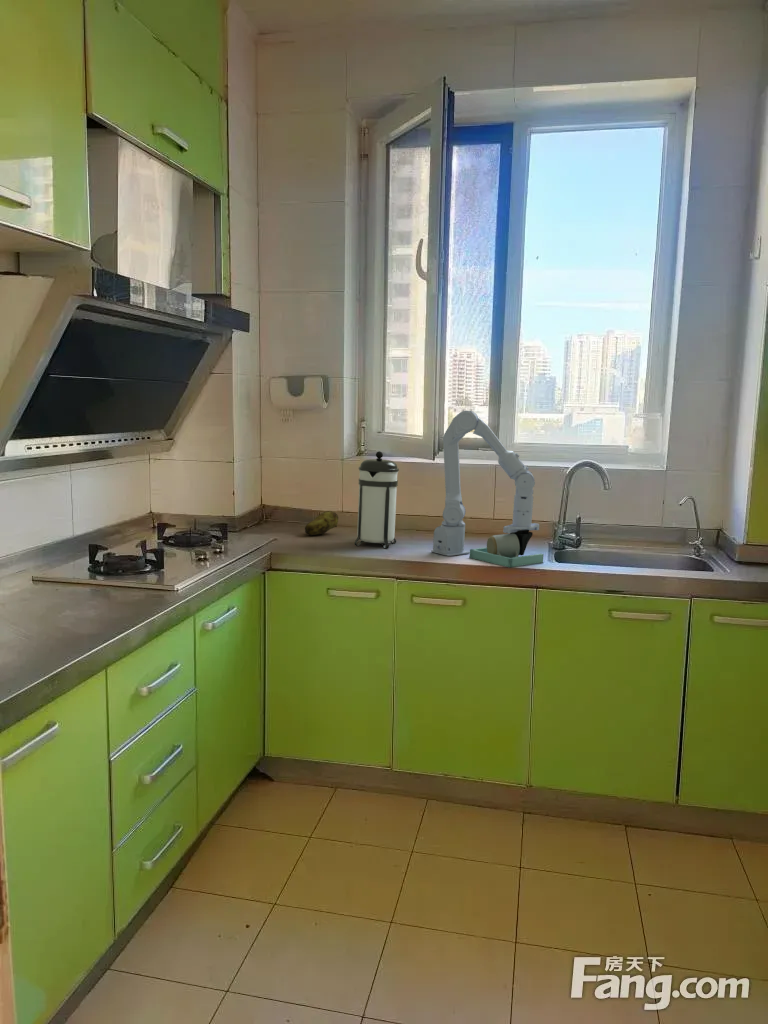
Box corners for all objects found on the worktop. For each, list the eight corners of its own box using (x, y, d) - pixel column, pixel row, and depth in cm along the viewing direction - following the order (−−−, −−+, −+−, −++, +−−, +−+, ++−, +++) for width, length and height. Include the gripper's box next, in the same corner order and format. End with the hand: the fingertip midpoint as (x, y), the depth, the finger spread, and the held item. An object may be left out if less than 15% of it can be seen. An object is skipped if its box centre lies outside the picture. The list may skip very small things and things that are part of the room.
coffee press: (409, 547, 245) (414, 453, 241) (364, 549, 238) (368, 452, 234) (385, 538, 260) (389, 449, 256) (342, 540, 253) (345, 448, 249)
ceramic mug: (484, 556, 235) (486, 531, 234) (509, 555, 237) (510, 531, 236) (498, 564, 225) (500, 538, 224) (524, 563, 227) (526, 538, 226)
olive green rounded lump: (298, 533, 263) (299, 510, 262) (333, 532, 269) (333, 509, 268) (307, 537, 255) (308, 513, 254) (343, 536, 261) (343, 512, 260)
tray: (509, 567, 221) (510, 558, 221) (469, 557, 233) (469, 549, 233) (542, 562, 231) (543, 554, 230) (502, 553, 243) (503, 545, 242)
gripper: (517, 513, 226) (514, 559, 228) (548, 511, 236) (545, 554, 237) (499, 510, 232) (496, 555, 233) (530, 508, 241) (527, 550, 243)
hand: (519, 554), depth 236 cm, fingers closed
